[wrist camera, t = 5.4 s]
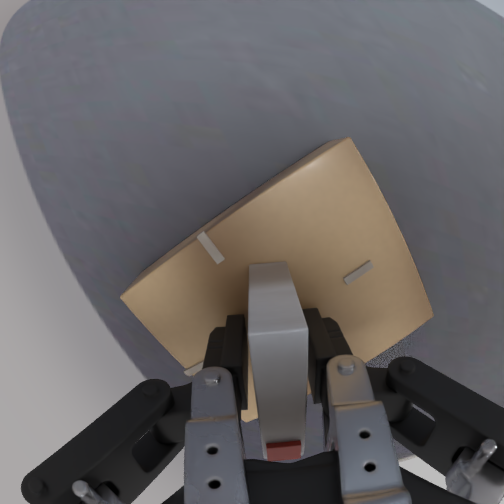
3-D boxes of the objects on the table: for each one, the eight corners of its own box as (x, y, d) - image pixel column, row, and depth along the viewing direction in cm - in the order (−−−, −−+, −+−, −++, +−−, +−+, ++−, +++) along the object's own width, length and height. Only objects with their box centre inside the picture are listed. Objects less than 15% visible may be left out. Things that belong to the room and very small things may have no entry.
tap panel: (328, 138, 13) (349, 133, 10) (410, 293, 16) (436, 318, 13) (137, 272, 15) (114, 298, 12) (246, 390, 18) (245, 426, 15)
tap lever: (248, 263, 12) (247, 339, 7) (286, 260, 12) (310, 333, 7) (260, 377, 14) (263, 464, 9) (290, 374, 13) (304, 460, 8)
